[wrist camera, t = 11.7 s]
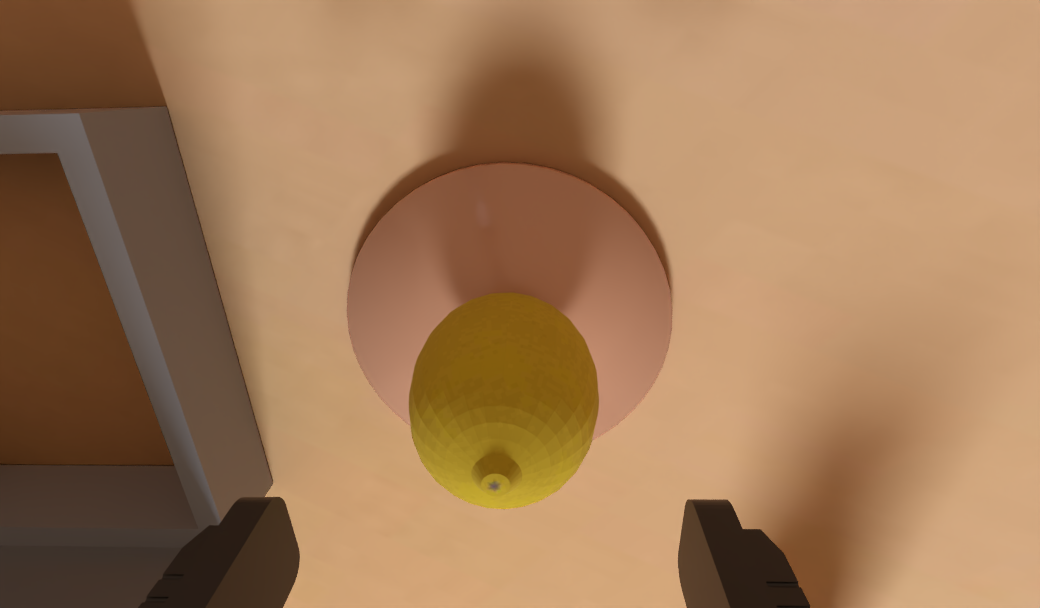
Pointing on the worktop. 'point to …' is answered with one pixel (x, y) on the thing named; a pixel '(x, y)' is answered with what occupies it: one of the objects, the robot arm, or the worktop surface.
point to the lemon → (503, 401)
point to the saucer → (511, 275)
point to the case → (162, 365)
